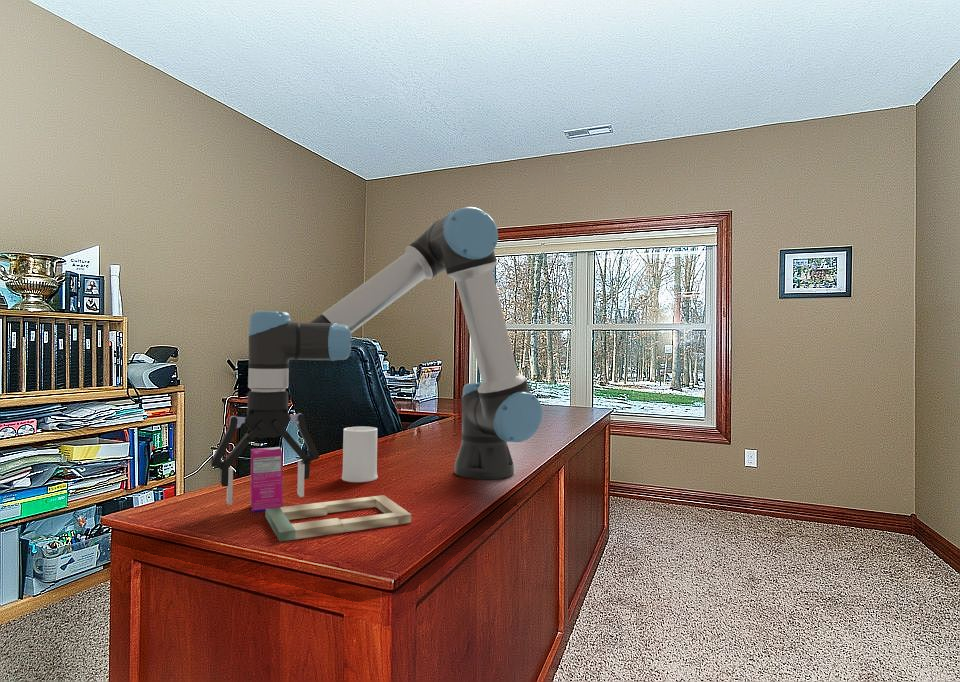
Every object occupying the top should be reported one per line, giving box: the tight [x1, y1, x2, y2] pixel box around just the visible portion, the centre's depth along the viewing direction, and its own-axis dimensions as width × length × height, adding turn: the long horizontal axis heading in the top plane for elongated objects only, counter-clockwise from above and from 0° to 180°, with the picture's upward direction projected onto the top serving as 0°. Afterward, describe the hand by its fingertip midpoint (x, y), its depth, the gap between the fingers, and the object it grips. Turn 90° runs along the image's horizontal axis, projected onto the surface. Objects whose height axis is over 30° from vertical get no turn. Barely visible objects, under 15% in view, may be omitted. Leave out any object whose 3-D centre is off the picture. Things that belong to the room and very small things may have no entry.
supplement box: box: [250, 446, 284, 514], centre depth 113 cm, size 6×6×12 cm
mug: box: [341, 426, 379, 483], centre depth 141 cm, size 12×8×12 cm
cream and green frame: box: [265, 494, 412, 542], centre depth 106 cm, size 23×15×2 cm, turn 119°
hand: (266, 499), depth 113 cm, fingers open, 12 cm apart
